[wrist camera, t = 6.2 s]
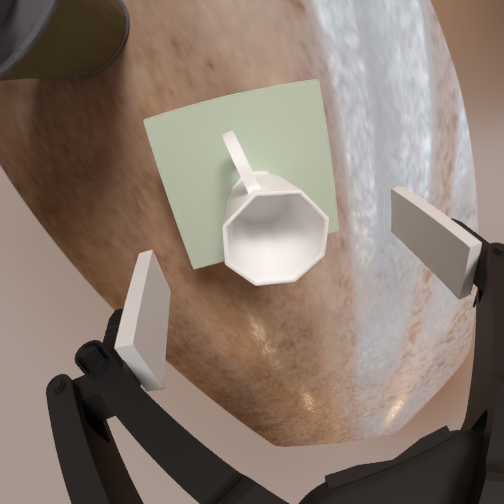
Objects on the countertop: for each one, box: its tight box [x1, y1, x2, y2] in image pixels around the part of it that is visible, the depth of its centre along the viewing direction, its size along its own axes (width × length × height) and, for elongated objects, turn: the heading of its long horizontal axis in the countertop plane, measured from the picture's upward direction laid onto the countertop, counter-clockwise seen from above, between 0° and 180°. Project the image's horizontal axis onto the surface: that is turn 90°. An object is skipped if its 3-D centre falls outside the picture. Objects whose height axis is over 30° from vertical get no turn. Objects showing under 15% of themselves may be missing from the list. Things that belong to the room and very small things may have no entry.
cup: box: [222, 130, 329, 286], centre depth 22 cm, size 7×10×8 cm
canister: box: [0, 0, 129, 81], centre depth 14 cm, size 11×10×20 cm
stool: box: [143, 80, 339, 269], centre depth 29 cm, size 14×14×8 cm
